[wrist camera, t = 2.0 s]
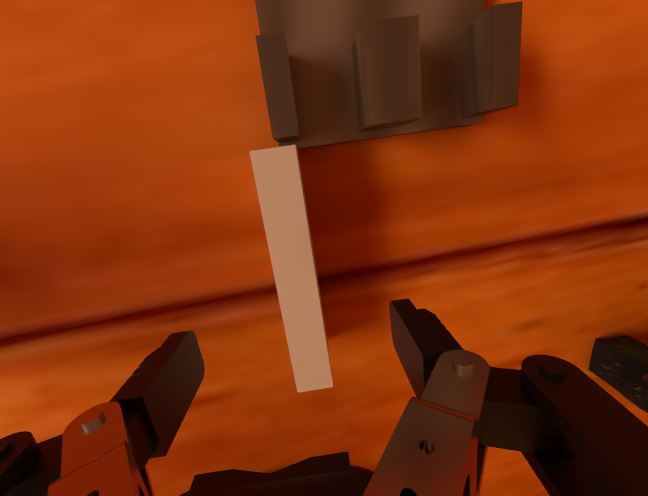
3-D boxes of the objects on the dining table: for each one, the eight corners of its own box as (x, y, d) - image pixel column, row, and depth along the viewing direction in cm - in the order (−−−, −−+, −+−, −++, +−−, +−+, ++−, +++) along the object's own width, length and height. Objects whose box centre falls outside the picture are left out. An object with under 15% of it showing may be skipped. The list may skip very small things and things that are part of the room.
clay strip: (299, 342, 26) (297, 392, 21) (264, 154, 22) (249, 151, 16) (327, 337, 26) (333, 386, 21) (298, 149, 22) (295, 144, 16)
